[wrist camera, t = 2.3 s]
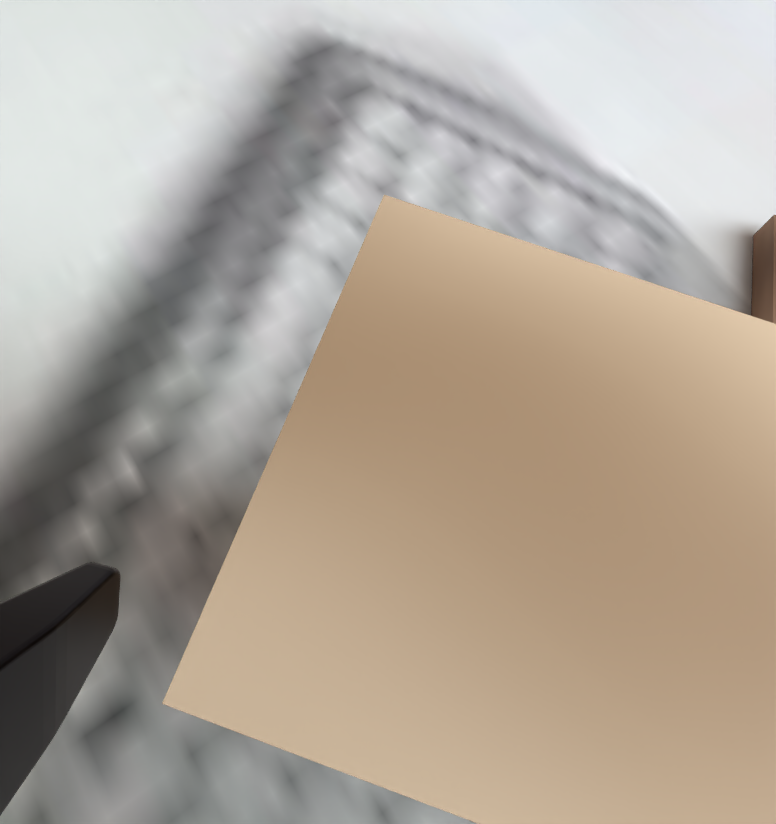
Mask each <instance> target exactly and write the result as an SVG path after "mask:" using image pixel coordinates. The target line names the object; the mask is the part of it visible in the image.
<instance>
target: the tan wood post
mask: <svg viewBox="0 0 776 824" xmlns="http://www.w3.org/2000/svg"><path fill="white" fill-rule="evenodd" d="M162 704H164V705H167V706H169V707H172V708H175V709H177V710H180V711H183V712H185V713H188V714H191V715H193V716H196V717H198V718H201V719H204V720H206V721H209V722H212V723H214V724H217V725H219V726H222V727H225V728H227V729H230V730H233V731H235V732H238V733H241V734H243V735H246V736H248V737H251V738H254V739H256V740H259V741H262V742H264V743H267V744H270V745H272V746H275V747H277V748H280V749H283V750H285V751H288V752H291V753H293V754H296V755H299V756H301V757H304V758H306V759H309V760H312V761H314V762H317V763H320V764H322V765H325V766H327V767H330V768H333V769H335V770H338V771H341V772H343V773H346V774H349V775H351V776H354V777H356V778H359V779H362V780H364V781H367V782H370V783H372V784H375V785H378V786H380V787H383V788H385V789H388V790H391V791H393V792H396V793H399V794H401V795H404V796H407V797H409V798H412V799H414V800H417V801H420V802H422V803H425V804H428V805H430V806H433V807H436V808H438V809H441V810H443V811H446V812H449V813H451V814H454V815H457V816H459V817H462V818H464V819H467V820H470V821H472V822H475V823H478V824H776V324H774V323H771V322H768V321H765V320H762V319H759V318H756V317H753V316H750V315H747V314H744V313H741V312H738V311H735V310H732V309H729V308H726V307H723V306H720V305H717V304H714V303H711V302H708V301H705V300H701V299H698V298H695V297H692V296H689V295H686V294H683V293H680V292H677V291H674V290H671V289H668V288H665V287H662V286H659V285H656V284H653V283H650V282H647V281H644V280H641V279H638V278H635V277H632V276H629V275H626V274H623V273H620V272H617V271H614V270H611V269H608V268H605V267H601V266H598V265H595V264H592V263H589V262H586V261H583V260H580V259H577V258H574V257H571V256H568V255H565V254H562V253H559V252H556V251H553V250H550V249H547V248H544V247H541V246H538V245H535V244H532V243H529V242H526V241H523V240H520V239H517V238H514V237H511V236H508V235H505V234H501V233H498V232H495V231H492V230H489V229H486V228H483V227H480V226H477V225H474V224H471V223H468V222H465V221H462V220H459V219H456V218H453V217H450V216H447V215H444V214H441V213H438V212H435V211H432V210H429V209H426V208H423V207H420V206H417V205H414V204H411V203H408V202H405V201H402V200H398V199H395V198H392V197H389V196H386V195H384V196H383V199H382V201H381V203H380V205H379V208H378V210H377V212H376V215H375V217H374V219H373V221H372V224H371V226H370V228H369V231H368V233H367V235H366V238H365V240H364V242H363V244H362V247H361V249H360V251H359V254H358V256H357V258H356V260H355V263H354V265H353V267H352V270H351V272H350V274H349V276H348V279H347V281H346V283H345V286H344V288H343V290H342V292H341V295H340V297H339V299H338V302H337V304H336V306H335V309H334V311H333V313H332V315H331V318H330V320H329V322H328V325H327V327H326V329H325V331H324V334H323V336H322V338H321V341H320V343H319V345H318V347H317V350H316V352H315V354H314V357H313V359H312V361H311V363H310V366H309V368H308V370H307V373H306V375H305V377H304V380H303V382H302V384H301V386H300V389H299V391H298V393H297V396H296V398H295V400H294V402H293V405H292V407H291V409H290V412H289V414H288V416H287V418H286V421H285V423H284V425H283V428H282V430H281V432H280V435H279V437H278V439H277V441H276V444H275V446H274V448H273V451H272V453H271V455H270V457H269V460H268V462H267V464H266V467H265V469H264V471H263V473H262V476H261V478H260V480H259V483H258V485H257V487H256V489H255V492H254V494H253V496H252V499H251V501H250V503H249V506H248V508H247V510H246V512H245V515H244V517H243V519H242V522H241V524H240V526H239V528H238V531H237V533H236V535H235V538H234V540H233V542H232V544H231V547H230V549H229V551H228V554H227V556H226V558H225V560H224V563H223V565H222V567H221V570H220V572H219V574H218V577H217V579H216V581H215V583H214V586H213V588H212V590H211V593H210V595H209V597H208V599H207V602H206V604H205V606H204V609H203V611H202V613H201V615H200V618H199V620H198V622H197V625H196V627H195V629H194V631H193V634H192V636H191V638H190V641H189V643H188V645H187V648H186V650H185V652H184V654H183V657H182V659H181V661H180V664H179V666H178V668H177V670H176V673H175V675H174V677H173V680H172V682H171V684H170V686H169V689H168V691H167V693H166V696H165V698H164V700H163V702H162Z"/></svg>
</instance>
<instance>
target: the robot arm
mask: <svg viewBox="0 0 776 824" xmlns="http://www.w3.org/2000/svg"><path fill="white" fill-rule="evenodd" d="M119 592H120V573H119V571H118V570H117V569H116V568H114V567H110V566H106V565H102V564H98V563H94V562H90V563H86V564H83V565H81V566H79V567H77V568H75V569H73V570H70V571H68V572H66V573H64V574H62V575H60V576H57V577H55V578H53V579H51V580H49V581H47V582H45V583H42V584H40V585H38V586H36V587H34V588H32V589H29V590H27V591H25V592H23V593H21V594H19V595H16V596H14V597H12V598H10V599H8V600H6V601H4V602H1V603H0V815H1V814H2V812H3V811H4V809H5V808H6V806H7V805H8V803H9V802H10V801H11V799H12V798H13V796H14V795H15V793H16V792H17V790H18V789H19V787H20V786H21V785H22V783H23V782H24V780H25V779H26V777H27V776H28V774H29V773H30V771H31V770H32V769H33V767H34V766H35V764H36V763H37V761H38V760H39V758H40V757H41V755H42V754H43V753H44V751H45V750H46V748H47V746H48V745H49V743H50V742H51V740H52V739H53V737H54V736H55V734H56V732H57V731H58V729H59V727H60V725H61V724H62V722H63V720H64V719H65V717H66V715H67V713H68V711H69V709H70V708H71V706H72V704H73V702H74V700H75V699H76V697H77V695H78V693H79V691H80V689H81V688H82V686H83V684H84V682H85V680H86V678H87V677H88V675H89V673H90V671H91V669H92V668H93V666H94V664H95V662H96V660H97V658H98V657H99V655H100V653H101V651H102V649H103V647H104V646H105V644H106V642H107V640H108V638H109V636H110V635H111V633H112V631H113V629H114V626H115V624H116V621H117V617H118V608H119Z"/></svg>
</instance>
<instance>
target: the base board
mask: <svg viewBox="0 0 776 824" xmlns="http://www.w3.org/2000/svg"><path fill="white" fill-rule="evenodd" d="M751 316H753V317H756V318H759V319H762V320H765V321H768V322H771V323H774V324H776V215H773V216H772V217H771V218H770V219H769V220H768V221H767V222H766V223H765V224H764V225H763V226H762V227H761V228H760V229H759V230H758V231H757V232H756V233H755V234H754V235H753V271H752V308H751Z"/></svg>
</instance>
